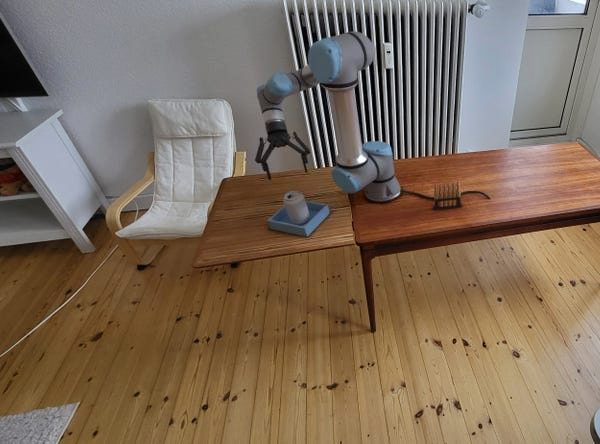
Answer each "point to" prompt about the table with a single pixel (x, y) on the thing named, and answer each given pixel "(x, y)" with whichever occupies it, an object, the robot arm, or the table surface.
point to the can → (296, 207)
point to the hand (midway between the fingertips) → (288, 175)
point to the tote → (284, 224)
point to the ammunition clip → (451, 199)
